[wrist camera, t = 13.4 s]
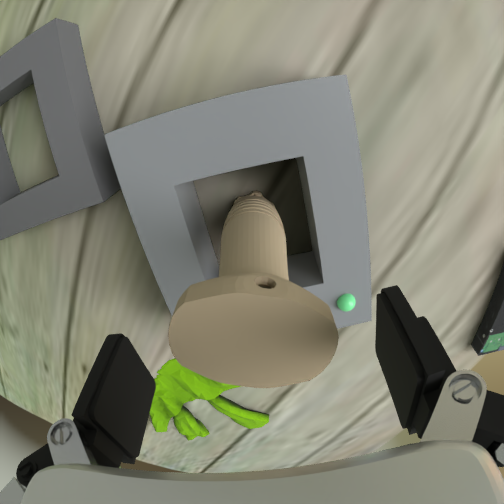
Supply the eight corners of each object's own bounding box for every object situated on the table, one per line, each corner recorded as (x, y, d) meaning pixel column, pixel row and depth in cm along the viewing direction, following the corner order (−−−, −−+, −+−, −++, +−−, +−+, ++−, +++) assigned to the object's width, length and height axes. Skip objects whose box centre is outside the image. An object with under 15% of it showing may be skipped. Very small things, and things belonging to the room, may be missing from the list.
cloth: (238, 330, 31) (237, 346, 29) (306, 430, 40) (308, 443, 38) (97, 371, 35) (91, 385, 33) (187, 452, 44) (185, 464, 42)
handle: (286, 243, 26) (315, 392, 13) (209, 230, 26) (168, 375, 12) (300, 187, 24) (355, 307, 11) (216, 173, 24) (169, 281, 10)
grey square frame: (-26, 96, 19) (-49, 100, 16) (78, 24, 17) (55, 18, 14) (13, 228, 26) (-7, 243, 22) (121, 188, 24) (103, 202, 21)
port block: (131, 126, 22) (98, 136, 17) (327, 79, 20) (350, 73, 15) (197, 316, 30) (187, 359, 25) (355, 286, 28) (374, 327, 23)
